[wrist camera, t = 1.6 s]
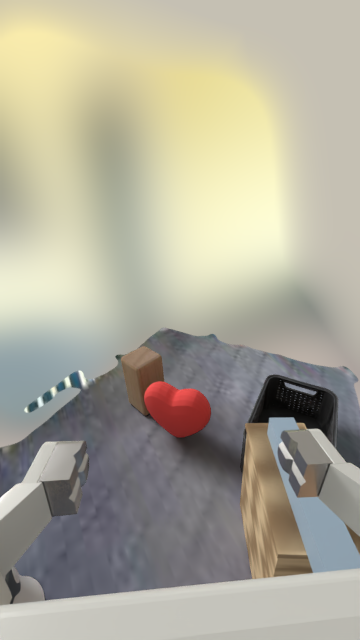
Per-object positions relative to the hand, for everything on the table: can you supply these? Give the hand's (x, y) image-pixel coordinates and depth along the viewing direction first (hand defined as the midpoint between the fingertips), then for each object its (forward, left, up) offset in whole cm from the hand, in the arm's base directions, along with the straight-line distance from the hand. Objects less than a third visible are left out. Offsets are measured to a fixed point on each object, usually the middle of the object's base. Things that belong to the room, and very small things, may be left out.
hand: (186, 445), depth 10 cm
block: (+33, +50, -55) cm, 81 cm away
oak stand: (+22, -1, -54) cm, 59 cm away
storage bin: (+47, +6, -55) cm, 72 cm away
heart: (+30, +32, -55) cm, 70 cm away
